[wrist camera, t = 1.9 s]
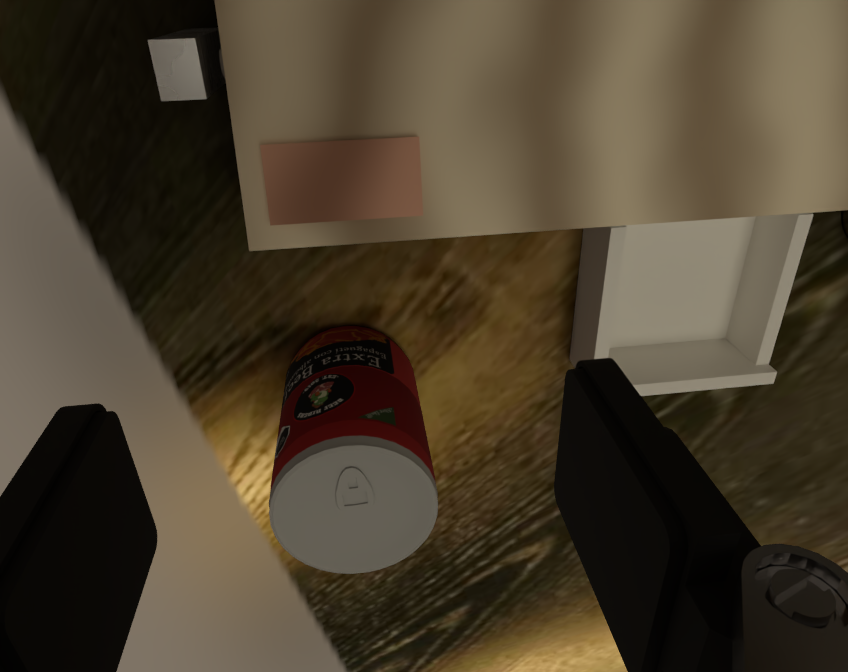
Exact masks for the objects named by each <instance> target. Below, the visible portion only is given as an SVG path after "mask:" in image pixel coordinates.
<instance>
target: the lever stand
mask: <svg viewBox="0 0 848 672" xmlns="http://www.w3.org/2000/svg"><path fill="white" fill-rule="evenodd" d="M148 44H149V48H150V53H151V57H152V62H153V66H154V71H155V75H156V79H157V84H158V88H159V93H160V97H161V101H176V100H197V99H207V98H209V97H210V96H211V95H212V94H213V93H214V92H216V91H217V90H218V89H219V88H220V87H221V86H223V85H224V84H225V83H226V79H225V78H224V76H223V74H222V70H221V65H220V57H219V51H220V49H221V43H220V36H219V29H218V27H217V28H189V29H185V30H181V31H178V32H174V33H171V34H167V35H164V36H160V37H156V38H153V39H149V40H148Z"/></svg>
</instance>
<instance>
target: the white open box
mask: <svg viewBox="0 0 848 672" xmlns="http://www.w3.org/2000/svg"><path fill="white" fill-rule="evenodd" d="M812 218H813V214H812V213H798V214H784V215H769V216H754V217H740V218H725V219H711V220H696V221H681V222H667V223H652V224H638V225H623V226H608V227H594V228H583V237H582V246H581V256H580V265H579V274H578V284H577V293H576V302H575V311H574V321H573V330H572V339H571V349H570V358H569V359H570V361H571V363H572V364H573V366H574V367H576V364H577V362H578V361H580V360H590V359H601V358H612V359H613V360H614V361H615V362H616V363H617V364H618V366H619V367H620V369H621V370H622V371H623V373H624V374H625V375H626V377H627V378H628V379H629V381H630V382H631V383H632V385H633V386H634V388H635V389H636V390H637V392H638V393H639V394H640V396H647V395H657V394H668V393H679V392H689V391H700V390H710V389H721V388H731V387H742V386H752V385H763V384H773V383H774V380H775V377H776V374H777V371H776V370H775V369H773V368H772V367H771V366H770V365H769V361H770V358H771V355H772V351H773V348H774V345H775V341H776V338H777V335H778V331H779V328H780V325H781V321H782V318H783V315H784V311H785V308H786V305H787V301H788V298H789V295H790V291H791V288H792V284H793V281H794V278H795V274H796V271H797V268H798V264H799V261H800V258H801V254H802V251H803V248H804V244H805V241H806V238H807V234H808V231H809V228H810V224H811V221H812Z"/></svg>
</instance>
